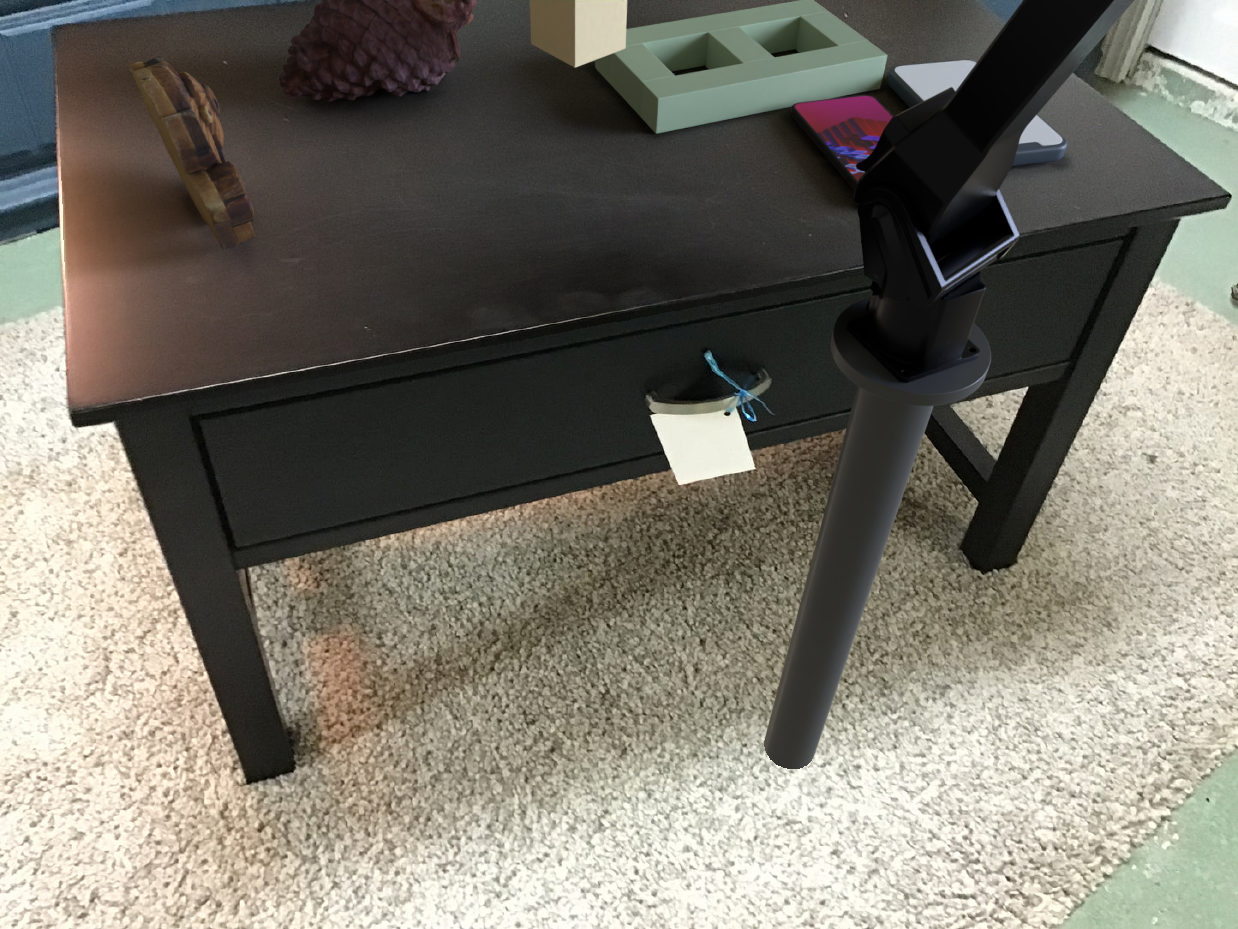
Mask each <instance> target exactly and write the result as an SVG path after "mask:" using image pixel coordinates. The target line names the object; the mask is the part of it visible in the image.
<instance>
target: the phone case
mask: <svg viewBox="0 0 1238 929" xmlns="http://www.w3.org/2000/svg"><path fill="white" fill-rule="evenodd" d="M977 62H978V61H976V60H973V59H965V58H962V59H951V60H939V61H929V62H918V63H907V64H898V65H893V66H892V67H890V69H888V75H887V79H886V83H887V86H888V87H889V88H890V89H891V90H892V91H893V92H894V93H895V95H897V96H898V97H899V98H900V99H901V100H902V101H903V102H904V103H905V104H906V105H907V106H908V108H911V107H913V106H915V105H917V104H919V103H921V102H923V101H925V100H927V99H929V98H931V97H933V96H935V95H937V94H939V93H941V92H942V91H944V90H946V89H948V88H950V87H952V88H953V89H954V90H955V91H956V90H957V89H958V87H959V86H960V85H961V83H962V82H963V81H964V79H965V78H966V76H967V75H968V74H969V72H970V71H971V70H972V68H973V67H974V66H975V64H976V63H977ZM1067 147H1068V141H1067V139H1066V138H1065V137H1064V136H1063V135H1062V134H1061V133H1059V132H1058V130H1056V129H1055V128H1054V127H1052V126H1051V125H1050V124H1049V123H1048V122H1047V121H1046V120H1045V119H1043V118H1042V117H1041V116H1040V115H1039V113H1038V114H1037V115H1036V116H1035V117H1034V118H1033V120H1032V121H1031V122H1030V123H1029V124H1028V125H1027V127H1026V128H1025V130H1024V131H1023V133H1022V135H1021V137H1020V141H1019V145H1018V148H1017V152H1016V156H1015V160H1014V164H1013V166H1012V167H1017V166H1022V165H1024V166H1025V165H1033V164H1041V163H1050V162H1056V161H1059V160H1061V159H1063V157H1064V155H1065V152H1066V149H1067Z"/></svg>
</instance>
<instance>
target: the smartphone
mask: <svg viewBox="0 0 1238 929" xmlns="http://www.w3.org/2000/svg"><path fill="white" fill-rule="evenodd" d="M790 115H791V117H792V118H793V120H795V122H796V123H797V124H798V125H799V126H800V128H801V129H802V130H803V131H804V132H805V133H806V135H807V136H808V137H809V139H811V140H812V142H813V143H814V144H815V145H816V147H817V148H818V149H819V150H820V151H821V153H822V154H823V155H824V156H825V157H826V159H828V161H829V162H830V163H831V164H832V166H833V167H834V168H835V169H836V170H837V172H838V173H839V174H840V175H841V176H842V177H843V179H844V180H845V182H847V184H848V185H849V186H850V187H851V188H852V190H854V191H855V187H856V185H857V183H858V181H859V179H860V177H861V176H862V175H863V174H864V173H865V172H864V171H860V170H858V169H857V168H856V164H857V163H859V162H861V161H863V160H865V159H866V158H867V157H868V156H869V155H870V154H871V153H872V152H873V151H874V149H875V147H876V145H877V143H878V141H879V139H880V137H881V134H882V132H883V130H884V129H885V127H886V126H887V124H888V123H889V121H890V120H891V119H892V117H894V116H895V115H894V114H892V113H891V111H890V110H888V109H887V107H886V106H885V105H884V104H882V102H881V101H880V100H879V99H878V98H876V97H875V96H874V95H869V94H860V95H853V96H852V95H849V96H841V97H836V98H831V99H825V100H816V101H808V102H799V103H795V104H794V105H793V106H792V107H791V110H790Z"/></svg>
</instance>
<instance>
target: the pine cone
mask: <svg viewBox="0 0 1238 929" xmlns="http://www.w3.org/2000/svg"><path fill="white" fill-rule="evenodd" d="M477 3H478V0H321V1H320V2H319V3H317V4H315V6H314V8H313V9H314V10H313V16H312V17H311V19H310V22H309V23H306V24H305V26H304V28H303V29H301V30H300V33H299V34H298V35H293V36H292V38H291V39H290V43H291V45H290V46H289V48H288V49H287V52H288V54H289V56H288V57H286V60H285V61H286V63H284V64H283V66H282V71H280V72H279V74H278V81H279V82H278V85H279V87H281V88H284V89H283V94H285V96H287V97H288V98H289V99H291V100H293V99H296V98H297V97H300V96H302V97H304V98H305V97H309V98H310V99H311V100H312V101H319V100H321V99H323V100H324V101H326V102H328V103H333V102H334V101H336V100H338V99H341V100H342V99H343V100H345V99H346V100H349V101H355V100H356V98H361V97H370V96H372V95H374V94H375V93H376V92H377V91H378V90H382V89H383V90H385V91H386V92H388V93H391V94H392V95H394V96H395V97H402V96H403V95H405V94H406V93H407V92H411V93H421V92H424V93H427V92H429V91H430V90H431V87H433V86H438V85H439V83H440V82H441V80H442V79H443V78H444V76H445V75H446V74H449V73H451V72H453V71H454V69H455V66H456V63H459V61H460V60H461V56H462V54H461V46H460V41H459V37H458V31H459V30H461V29H462V28H465V27H466V26H467V25H469V24H470V23H471V22H472V21H473V20H474V17H475V15H473V11H474V10H475V7H476V6H477ZM454 61H456V63H455V62H454Z"/></svg>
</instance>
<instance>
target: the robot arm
mask: <svg viewBox="0 0 1238 929" xmlns="http://www.w3.org/2000/svg"><path fill="white" fill-rule="evenodd" d="M1134 2H1135V0H1022V1H1021V3H1020V4H1019V5H1018V7H1017V8H1016V9H1015V11H1013V13H1012V15H1011V16H1010V17H1009V19H1008V20H1007V21H1006V23H1005V24H1004V25H1003V27H1002V28H1001V29H1000V31H999V32H998V34H996V36H995V37H994V38H993V40H992V42H991V43H990V45H989V46H988V47H987V48H986V49H985V50H984V52H983V54H982V55H981V56H980V58H979V59H978V60H977V61H976V62H977V63H976V64H975V66H974V67H973V68H972V70H971V71H970V72H969V74H968V75H967V76H966V78H965V79H964V81H963V82H962V83H961V85H960V86H959V87H958V89H957V90H956V91H955V90H954V89H953V88H952V87H950V88H948V89H946V90H944V91H942V92H941V93H939V94H937V95H935V96H933V97H931V98H929V99H927V100H925V101H923V102H921V103H919V104H917V105H915V106H913V107H911V108H910V107H908V108H907V109H906V110H904V111H901V112H900V113H898V114H896V115H893V116H894V117H892V119H891V120H890V121H889V123H888V124H887V126H886V127H885V129H884V130H883V132H882V134H881V137H880V139H879V141H878V143H877V145H876V147H875V149H874V151H873V152H872V153H871V154H870V155H869V156H868V157H867V158H866V159H865V160H863V161H861V162H859V163H857V164H856V168H857V169H858V170H860V171H864V172H865V173H864V174H863V175H862V176H861V177H860V179H859V181H858V183H857V185H856V187H855V190H854V191H853V197H852V199H853V200H852V201H853V202H854V204H855V205H856V209H857V216H858V223H859V232H860V233H859V234H860V243H861V253H862V264H863V265H862V266H863V273H864V276H865V277H866V278H868V279H869V280H871V285H870V291H871V292H872V294H871V296H868V297H867V298H868V301H867V304H866V308H865V310H866V311H867V312H868V313H867V315H864V316H861V317H858V318H854V319H851V320H849V321H848V323H847V327H846V328H847V330H848V331H849V332H850V333H851V334H852V335H853V336H854V337H855V338H856V339H857V340H858V341H859V342H860V343H861V344H862V345H863V346H864V347H865V348H866V349H867V350H868V351H869V352H870V353H871V354H872V355H873V356H874V357H875V358H876V359H877V360H878V361H879V362H880V363H881V364H882V365H883V366H884V367H885V368H886V369H887V370H888V371H889V372H890V373H891V374H892V375H893V376H894V377H895V378H896V379H897V380H898V381H900V382H902V383H909V382H912V381H915V380H918V379H920V378H923V377H926V376H929V375H932V374H935V373H938V372H940V371H943V370H946V369H949V368H952V367H955V366H958V365H961V364H963V363H966V362H969V361H972V360H975V359H977V358H978V356H979V353H980V350H979V348H978V347H977V346H975V345H974V344H973V343H972V342H971V341H970V340H969V339H968V338H969V335H970V332H971V329H972V326H973V323H974V324H975V321H976V318H977V315H978V312H979V309H980V307H981V304H982V300H983V298H984V295H985V292H986V289H987V285H986V284H984V283H983V282H982V281H981V275H982V274H981V271H982V270H984V269H985V268H986V267H988V266H989V265H991V264H993V263H994V262H995V261H999V260H1001V259H1002V258H1003V257H1005V255H1007V253H1009V251H1010V250H1011V249H1012V248H1013V247H1014V246H1015V244H1016V243H1017V242H1018V241H1019V240H1020V238H1021V237H1020V236H1021V235H1020V232H1019V230H1018V227H1017V225H1016V223H1015V221H1014V218H1013V217H1012V214H1011V212H1010V210H1009V207H1008V205H1007V203H1006V201H1005V199H1004V196H1003V194H1002V191H1001V189H1000V188H1001V186H1002V185H1003V183H1004V181H1005V179H1006V178H1007V176H1008V174H1009V172H1010V171H1011V170H1012V168H1013V167H1014V166H1013V164H1014V160H1015V156H1016V152H1017V148H1018V145H1019V141H1020V137H1021V135H1022V133H1023V131H1024V130H1025V128H1026V127H1027V125H1028V124H1029V123H1030V122H1031V121H1032V120H1033V118H1034V117H1035V116H1036V115H1037V114H1038V115H1039V113H1040V112H1041V111H1042V109H1043V108H1044V107H1045V106H1046V105H1047V104H1048V102H1049V101H1050V100H1051V99H1052V97H1054V95H1055V94H1056V93H1057V92H1058V90H1059V89H1060V88H1061V87H1062V85H1064V83H1065V82H1066V81H1067V80H1068V79H1069V78H1070V76H1071V75H1072V74H1073V73H1074V72H1075V71H1076V70H1077V68H1078V67H1079V66H1080V65H1081V63H1082V62H1083V61H1084V60H1085V59H1086V58H1087V57H1088V55H1089V54H1090V53H1091V52H1092V51H1093V49H1095V48H1096V46H1097V45H1098V44H1099V43H1100V41H1102V39H1103V38H1104V37H1105V35H1107V33H1108V32H1109V31H1110V30H1111V29H1112V28H1113V26H1114V25H1115V24H1116V23H1117V21H1118V20H1119V19H1121V17H1122V16H1123V15H1124V13H1126V11H1127V10H1128V9H1129V7H1130V6H1132V5H1133V3H1134ZM904 375H905V376H904Z"/></svg>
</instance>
